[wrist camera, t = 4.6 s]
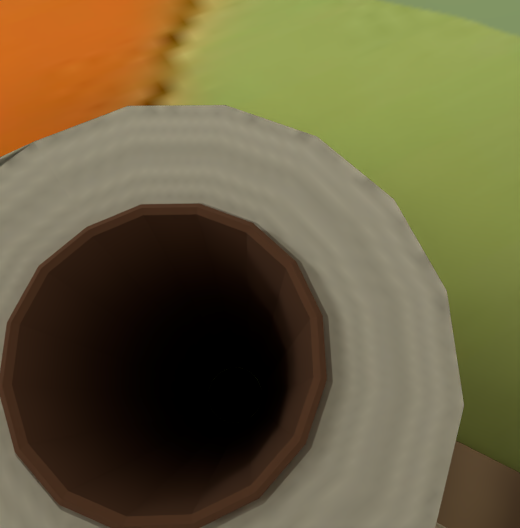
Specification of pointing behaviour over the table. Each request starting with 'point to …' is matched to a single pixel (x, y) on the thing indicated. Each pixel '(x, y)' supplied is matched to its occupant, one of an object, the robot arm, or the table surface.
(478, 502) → the brown square stepped pedestal
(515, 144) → the table surface
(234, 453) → the paper towel roll
